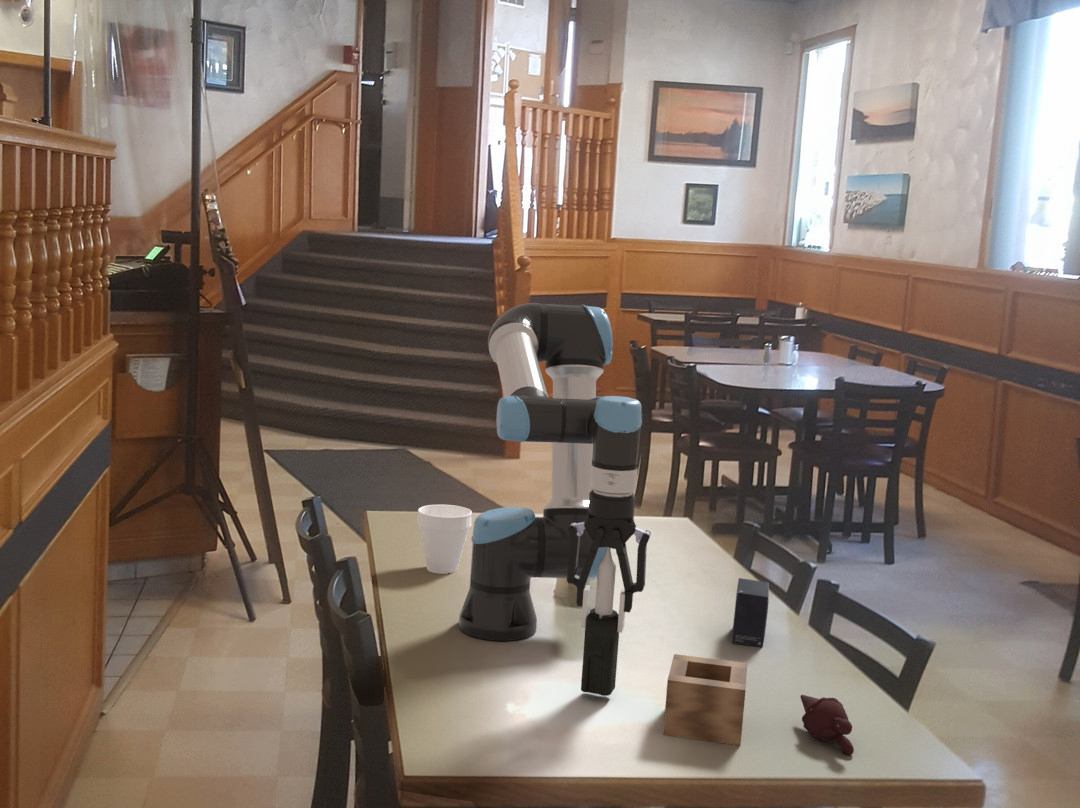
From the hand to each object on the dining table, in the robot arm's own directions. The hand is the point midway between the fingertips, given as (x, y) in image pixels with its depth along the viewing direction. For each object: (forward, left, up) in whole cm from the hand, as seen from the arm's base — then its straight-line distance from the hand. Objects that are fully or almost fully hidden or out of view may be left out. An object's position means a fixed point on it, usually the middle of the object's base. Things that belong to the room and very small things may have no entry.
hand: (602, 627), depth 196 cm
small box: (+24, +41, -13) cm, 49 cm away
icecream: (+37, -4, -13) cm, 39 cm away
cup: (-45, +62, -13) cm, 77 cm away
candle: (0, 0, -11) cm, 11 cm away
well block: (+18, -5, -12) cm, 23 cm away
